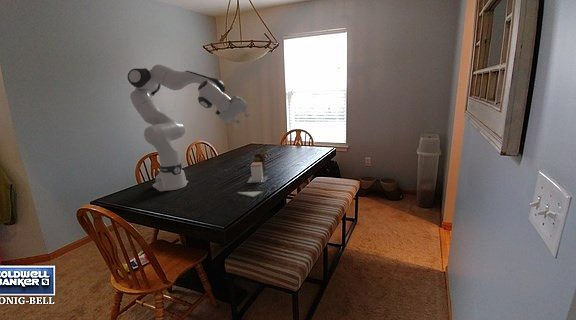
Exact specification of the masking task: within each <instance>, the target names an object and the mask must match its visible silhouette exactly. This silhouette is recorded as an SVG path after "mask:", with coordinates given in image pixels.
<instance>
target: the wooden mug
mask: <svg viewBox="0 0 576 320" xmlns="http://www.w3.org/2000/svg"><path fill="white" fill-rule="evenodd" d="M267 151H268V147H266V146H264V147H262V148H261V149H260V150H259V153H256V154H254V157H253V163H256V162H262V169H263V171H266V170H267V167H266V163H265V162H266V156H265V154H267V153H268V152H267Z"/></svg>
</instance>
